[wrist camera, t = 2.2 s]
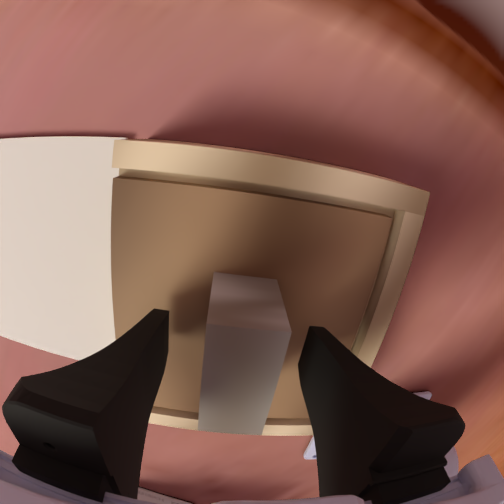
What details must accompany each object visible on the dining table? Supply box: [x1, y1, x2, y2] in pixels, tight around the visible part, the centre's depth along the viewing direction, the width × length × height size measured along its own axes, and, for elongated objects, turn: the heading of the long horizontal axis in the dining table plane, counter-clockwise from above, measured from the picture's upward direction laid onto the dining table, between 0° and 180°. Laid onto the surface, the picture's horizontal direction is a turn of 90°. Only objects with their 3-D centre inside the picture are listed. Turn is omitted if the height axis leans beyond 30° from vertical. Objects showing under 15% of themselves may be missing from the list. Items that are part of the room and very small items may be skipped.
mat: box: [0, 136, 128, 360], centre depth 15 cm, size 14×14×1 cm
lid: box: [111, 176, 392, 435], centre depth 11 cm, size 11×11×4 cm
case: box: [112, 139, 430, 436], centre depth 14 cm, size 12×14×4 cm
